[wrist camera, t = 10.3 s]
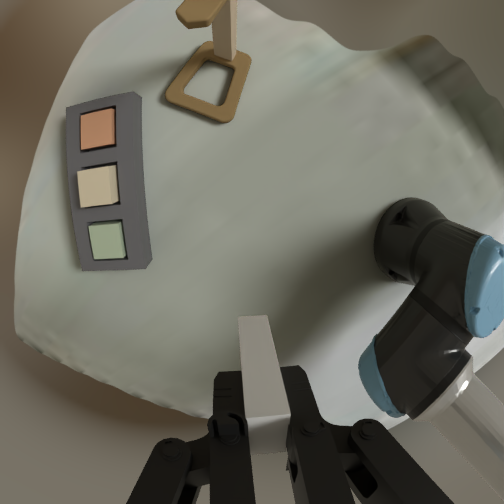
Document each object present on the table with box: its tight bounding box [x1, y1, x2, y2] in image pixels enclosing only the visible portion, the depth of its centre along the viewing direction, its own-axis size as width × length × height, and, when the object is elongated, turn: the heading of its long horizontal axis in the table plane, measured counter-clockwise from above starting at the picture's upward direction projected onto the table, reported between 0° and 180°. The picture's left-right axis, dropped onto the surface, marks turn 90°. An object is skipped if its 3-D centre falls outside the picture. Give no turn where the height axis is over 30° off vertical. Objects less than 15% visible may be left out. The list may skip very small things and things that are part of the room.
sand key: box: [77, 165, 120, 208], centre depth 34 cm, size 5×5×3 cm
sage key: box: [88, 219, 127, 259], centre depth 38 cm, size 5×5×3 cm
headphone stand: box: [165, 0, 251, 123], centre depth 24 cm, size 10×11×22 cm
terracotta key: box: [81, 108, 117, 150], centre depth 32 cm, size 5×5×3 cm
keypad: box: [66, 92, 152, 271], centre depth 36 cm, size 25×11×4 cm, turn 1°
